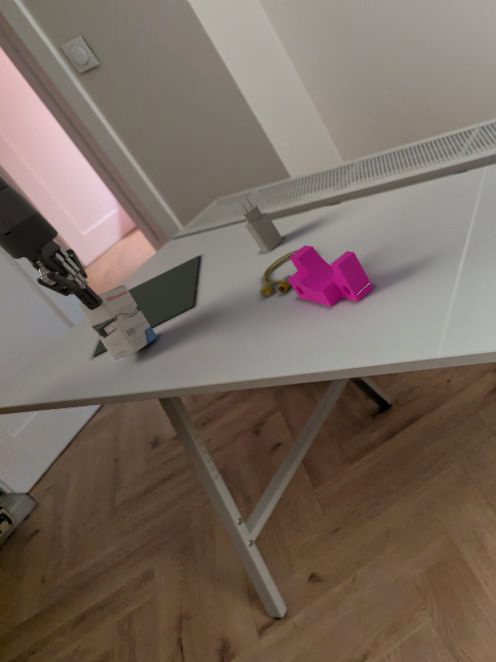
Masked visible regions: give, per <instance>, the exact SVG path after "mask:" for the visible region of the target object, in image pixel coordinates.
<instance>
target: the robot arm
mask: <svg viewBox="0 0 496 662" xmlns="http://www.w3.org/2000/svg"><path fill="white" fill-rule="evenodd" d="M58 234H59V232H58V231H57V230H56V229H55V228H54V226H53V225H52V224H51V223H50V222H49V221H48V220H47V219H46V218H45V217H44V216H43V215H42V214H41V213H40V212H39V211H38V209H36V208H35V206H33V205H32V203H31V202H30V201H28V199H27V198H26V197H25V196H24V195H22V194H21V193H20V192H19V191H17V190H16V189H15V188H14V187H13V186H12V185H11V184H10V183H9V182H8V181H7V179H5V177H3V176H2V175H1V174H0V247H1V248H2V249H3V251H5V252H6V253H7V254H8V255H9V256H10V257H11V258H12V259H15V260H21V259H22V258H24V259H26V260H27V261H28V262H29V263H30V265H31V267H33V269H35V270H37V272H38V273H39V275H40V276H39V277H37V278H36V282H37V283H38V284H39V285H41V286H43V287H44V288H46V289H49V290H51V291H53V292H55V293H58V294H59V295H62V296H64V297H69V296H73V295H74V297H76V298H77V299H78V300H79V301H80V303H83V304H84V305H85V306H86V307H87V308H88V309H90V310H94V309H96V308H98V307H99V306H101V304H102V302H103V300H102V299H101V298H100V297H99V296H98V295H99V294H98V293H97V292H95V290H93V289H92V287H90V286H89V281H88V280H87V279H88V278H89V276H88V274H87V271H85V268H84V267H83V265H82V263H81V261H80V259H79V257H78V256H77V254H76V251H74V250H73V249H72V248H68V249H66V250H65V249H64V248H62V246H61V245H59V244H58V243H57V242H56V241H55V240H54V239H56V238H57V237H58Z"/></svg>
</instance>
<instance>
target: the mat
mask: <svg viewBox="0 0 496 662" xmlns="http://www.w3.org/2000/svg"><path fill="white" fill-rule="evenodd" d="M200 258H201V256H200V255H197V256H195V257H193V258H192V259H189V260H187V261H185V262H183V263H181V264H179V265H177V266H175V267H173V268H170V269H169V270H167V271H165V272H162V273H161V274H158V275H157V276H155V277H152V278H150V279H148V280H146V281H144V282H142V283H140V284H137V285H136V286H135V287H134V286H133V287H132V288H130V289H128V291H129V293H130V294H131V296H132V297H133V299H134V301H135V302H136V304H137V306H138V307H139V309H140V310H141V312H142V313H143V315H144V317H145V318H146V320H147V321H148V323H149V325H150V326H151V328H152V329H154V328H155V327H157V326H159V325H160V326H161V325H162V324H163V323H166V322H168V321H169V320H172V319H174V318H176V317H177V316H180V315H181V314H184V313H185V312H188V311H189V310H192V309H194V308H195V302H196V293H197V284H198V275H199V267H200ZM106 352H108V350H107V349H106V347H105V346H104V344H103V343H102V341H101V340H100V339H99V341H98V343H97V345H96V348H95V350H94V353H93V357H94V358H95V357H98V356H100V355H102V354H104V353H106Z"/></svg>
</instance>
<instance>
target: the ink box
mask: <svg viewBox="0 0 496 662" xmlns="http://www.w3.org/2000/svg"><path fill="white" fill-rule="evenodd" d="M128 290H129V289H128V288H127V285H123V284H121V285H119V286H115V287H114V288H111V289H109V290H107V291H105V292H101V293H100V294H97V295H98V296H99V297H100V298H101V299H102V300H103V302H102V304H101V306H99V307H98V308H96V309H94V310H90V309H88V308H87V307H86V306H85V305H84V304H83V303H82V302H80V303H77V306H78V309H80V311H81V312H82V314H83V315H84V317H85V319H86V321H88V323H89V324H90V326H91V327H92V329H93V331H94V332H95V333H96V335H97V336H98V339H99V341H100V340H101V341H102V343H103V344H104V346H105V347H106V349H107V350H108V351H107V352H108V353H109V355H110V356H111V358H112V359H113V361H117V360H119V359H121V358H124V357H127V356H129V355H131V354H134V353H137V352H138V351H139V350H141V349H143V348H144V347H146V346H147V345H148V344H150V343H152V342H154V341H155V340H156V339H158V335H157V334H156V333H155V331H154V328H151V326H150V325H149V323H148V321H147V320H146V318H145V317H144V315H143V313H142V312H141V310H140V309H139V307H138V306H137V304H136V302H135V301H134V299H133V297H132V296H131V294H130V293H129V291H128Z"/></svg>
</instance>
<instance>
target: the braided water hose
mask: <svg viewBox="0 0 496 662" xmlns="http://www.w3.org/2000/svg"><path fill="white" fill-rule="evenodd" d="M298 250H299V249H296V250H293V251H290V252H288V253H286V254H284V255H282V256H281V257H279V258H278V259H277V260H275V261H274V262H272V263H271V264H270V265H269V266H268V267H267V268H266V270H264V273H263V276H262V277H263V283H262V284H261V287H260V289H261V290H260V295H261V296H264V297H265V298H267V297H270V296H272V295H274V290H273V288H272V285H279V286H278V288H277V290H278V292H279V293H281V294H285V293H287V292H288V290H289V289H290V288H291V286H292V285H291V284H290V282H289V281H288V278H289V277H291V276H292V275H286V276H284V277H283V278H281V279H280V280H273V281H271V280H268V279H269V276H270V274H271V273H272V272H273V270H274V269H276V268H277V267H278V266H280V265H282V264H283V263H285V262H287V261H289V260H291V259H290V258H289V257H290V256H291V255H292V254H294V253H295V252H296V251H298Z"/></svg>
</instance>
